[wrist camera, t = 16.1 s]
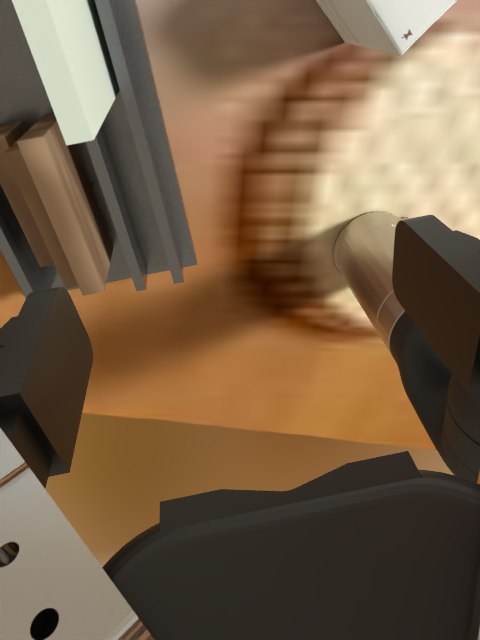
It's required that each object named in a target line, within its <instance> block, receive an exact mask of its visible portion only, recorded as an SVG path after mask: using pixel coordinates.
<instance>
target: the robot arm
mask: <svg viewBox="0 0 480 640" xmlns="http://www.w3.org/2000/svg"><path fill="white" fill-rule="evenodd" d="M333 255H334V262H335V264H336V266H337V268H338V270H339V272H340V274H341V275H342V277H343V278H344V279H345V281H346V283H347V284H348V286H349V288H350V289H351V291H352V292H353V294H354V296H355V297H356V299H357V300H358V302H359V303H360V305H361V307H362V308H363V310H364V311H365V313H366V315H367V316H368V318H369V319H370V321H371V323H372V324H373V326H374V327H375V329H376V331H377V332H378V334H379V335H380V337H381V338H382V340H383V342H384V343H385V345H386V346H387V348H388V349H389V351H390V353H391V354H392V356H393V358H394V359H395V361H396V363H397V365H398V368H399V371H400V376H401V380H402V383H403V386H404V389H405V392H406V394H407V396H408V398H409V400H410V402H411V404H412V405H413V407H414V409H415V411H416V413H417V415H418V417H419V418H420V420H421V422H422V424H423V426H424V428H425V429H426V431H427V433H428V435H429V437H430V439H431V440H432V442H433V444H434V446H435V447H436V449H437V451H438V452H439V454H440V456H441V457H442V459H443V461H444V462H445V463H446V465H447V466H448V468H449V469H450V470H451V472H452V473H453V474H454V475H455V476H454V475H450V474H446V473H441V472H434V471H427V470H418V469H417V468H416V465H415V463H414V461H413V460H412V458H411V456H410V454H409V452H408V451H406V452H401V453H396V454H392V455H386V456H382V457H376V458H372V459H367V460H362V461H357V462H352V463H347V464H345V465H343V466H341V467H339V468H337V469H335V470H333V471H331V472H328V473H326V474H324V475H322V476H320V477H318V478H316V479H314V480H312V481H310V482H308V483H306V484H303V485H301V486H299V487H297V488H295V489H292V490H289V491H254V490H226V489H225V490H223V489H221V490H216V491H211V492H206V493H202V494H196V495H192V496H187V497H182V498H177V499H172V500H167V501H162V502H160V523H159V524H156V525H154V526H152V527H150V528H149V529H147V530H145V531H144V532H142V533H141V534H139V535H137V536H136V537H135V538H133V539H132V540H131V541H129V542H128V543H127V544H126V545H125V546H123V547H122V548H121V549H120V550H119V551H118V552H117V553H116V554H115V555H114V556H113V557H112V558H110V560H109V561H108V562H107V563H106V564H105V565H104V567H101V566H100V564H99V563H98V561H97V560H96V559H95V557H94V556H93V555H92V553H91V552H90V551H89V549H88V548H87V546H86V545H85V543H84V542H83V541H82V540H81V538H80V537H79V535H78V534H77V533H76V531H75V530H74V529H73V527H72V526H71V524H70V523H69V521H68V520H67V519H66V517H65V516H64V515H63V513H62V512H61V510H59V508H58V506H57V505H56V504H55V502H54V501H53V499H52V498H51V497H50V495H49V494H48V493H47V491H46V490H45V487H46V483H47V479H48V477H49V476H54V475H59V474H64V473H69V472H70V467H71V462H72V458H73V453H74V448H75V443H76V438H77V434H78V429H79V424H80V419H81V414H82V410H83V405H84V400H85V395H86V390H87V386H88V381H89V376H90V371H91V366H92V361H93V354H92V347H91V342H90V339H89V337H88V334H87V332H86V330H85V328H84V326H83V323H82V321H81V319H80V317H79V314H78V312H77V310H76V308H75V306H74V303H73V301H72V299H71V297H70V295H69V293H68V291H67V290H66V289H65V288H64V287H57V288H52V289H47V290H42V291H37V292H32V293H29V294H28V296H27V298H26V300H25V302H24V304H23V307H22V309H21V311H20V313H19V315H18V316H17V317H12V318H11V319H10V320H9V321H8V322H7V323H6V324H5V325H4V326H3V327H2V328H0V640H480V240H479V239H478V238H475V237H473V236H470V235H467V234H465V233H462V232H459V231H457V230H456V231H452V230H451V229H449V228H448V227H447V226H446V225H445V224H443V223H442V222H441V221H440V220H439V219H437V218H436V217H435V216H433V215H427V216H422V217H416V218H411V219H409V218H408V217H404V218H398V217H396V216H394V215H392V214H390V213H386V212H371V213H366V214H364V215H361V216H359V217H357V218H356V219H354V220H352V221H351V222H350V223H349V224H348V225H347V226H345V228H344V229H343V230H342V231H341V233H340V234H339V236H338V238H337V240H336V243H335V246H334V253H333Z"/></svg>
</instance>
